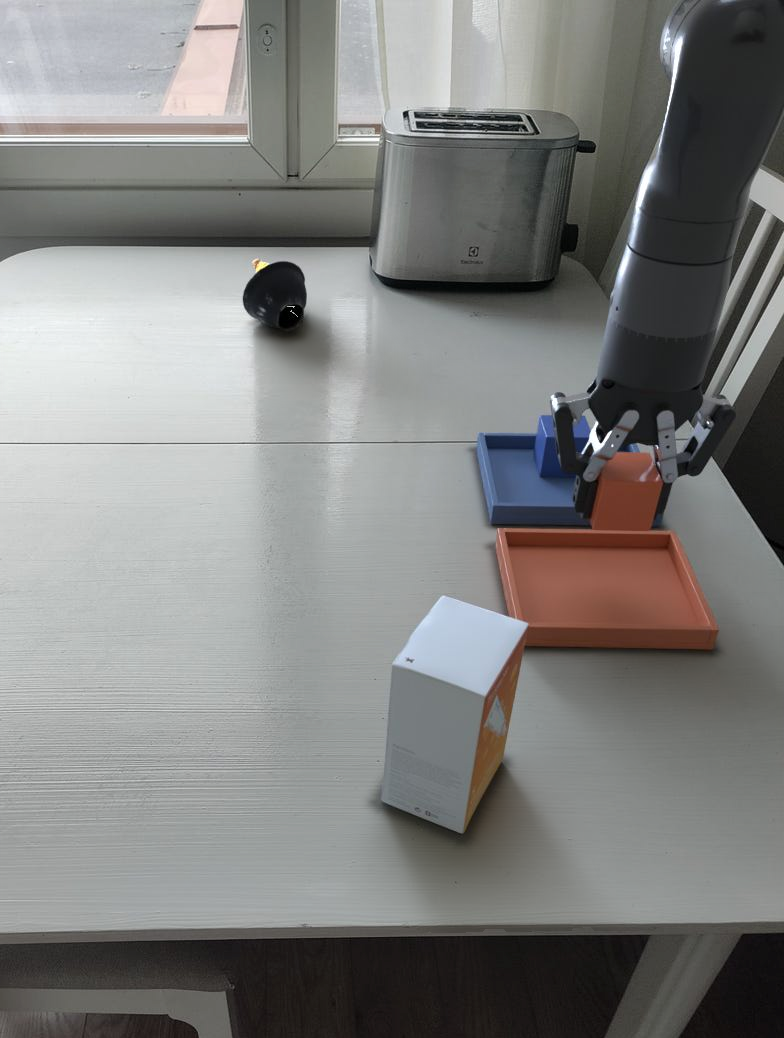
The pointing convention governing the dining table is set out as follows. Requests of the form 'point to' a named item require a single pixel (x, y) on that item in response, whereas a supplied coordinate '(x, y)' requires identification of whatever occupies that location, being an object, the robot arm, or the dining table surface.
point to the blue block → (547, 447)
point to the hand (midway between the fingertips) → (616, 513)
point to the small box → (451, 711)
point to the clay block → (627, 493)
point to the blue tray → (526, 483)
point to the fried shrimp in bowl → (276, 294)
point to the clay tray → (603, 589)
